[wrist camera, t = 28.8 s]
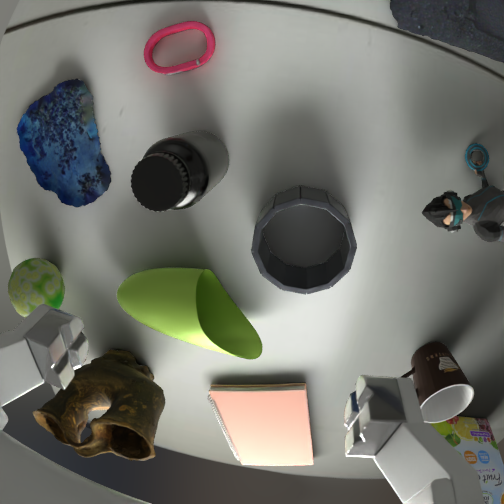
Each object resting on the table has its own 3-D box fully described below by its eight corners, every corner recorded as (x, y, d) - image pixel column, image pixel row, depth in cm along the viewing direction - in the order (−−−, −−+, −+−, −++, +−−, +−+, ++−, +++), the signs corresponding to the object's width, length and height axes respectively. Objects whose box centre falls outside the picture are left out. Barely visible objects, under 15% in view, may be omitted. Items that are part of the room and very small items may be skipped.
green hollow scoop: (253, 309, 32) (90, 281, 35) (255, 375, 39) (120, 344, 43) (267, 261, 38) (121, 244, 42) (267, 329, 45) (142, 307, 49)
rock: (88, 70, 32) (79, 70, 30) (120, 193, 38) (112, 198, 37) (20, 112, 35) (11, 114, 33) (49, 215, 42) (41, 219, 40)
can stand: (333, 174, 34) (338, 184, 29) (358, 257, 38) (365, 278, 33) (244, 204, 37) (236, 218, 32) (276, 281, 41) (273, 303, 36)
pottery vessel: (92, 385, 58) (50, 454, 41) (66, 346, 54) (13, 416, 36) (195, 388, 52) (160, 484, 35) (170, 342, 48) (119, 444, 30)
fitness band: (152, 80, 32) (146, 80, 30) (145, 37, 29) (139, 34, 28) (219, 63, 30) (216, 61, 29) (211, 17, 28) (207, 14, 27)
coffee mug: (463, 346, 41) (484, 391, 32) (428, 381, 45) (442, 427, 36) (416, 321, 40) (435, 371, 31) (379, 361, 44) (389, 412, 35)
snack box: (490, 415, 48) (519, 510, 25) (465, 437, 52) (486, 528, 29) (421, 408, 48) (444, 530, 25) (395, 433, 52) (408, 546, 29)
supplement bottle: (214, 119, 33) (174, 127, 22) (240, 174, 35) (212, 206, 25) (163, 145, 35) (107, 165, 24) (188, 196, 37) (143, 235, 27)
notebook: (205, 383, 51) (202, 391, 49) (305, 381, 48) (305, 390, 46) (238, 458, 62) (237, 465, 60) (313, 458, 59) (313, 465, 57)
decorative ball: (26, 254, 46) (-11, 282, 37) (59, 241, 43) (18, 272, 34) (50, 302, 49) (18, 334, 40) (85, 296, 47) (51, 332, 38)
